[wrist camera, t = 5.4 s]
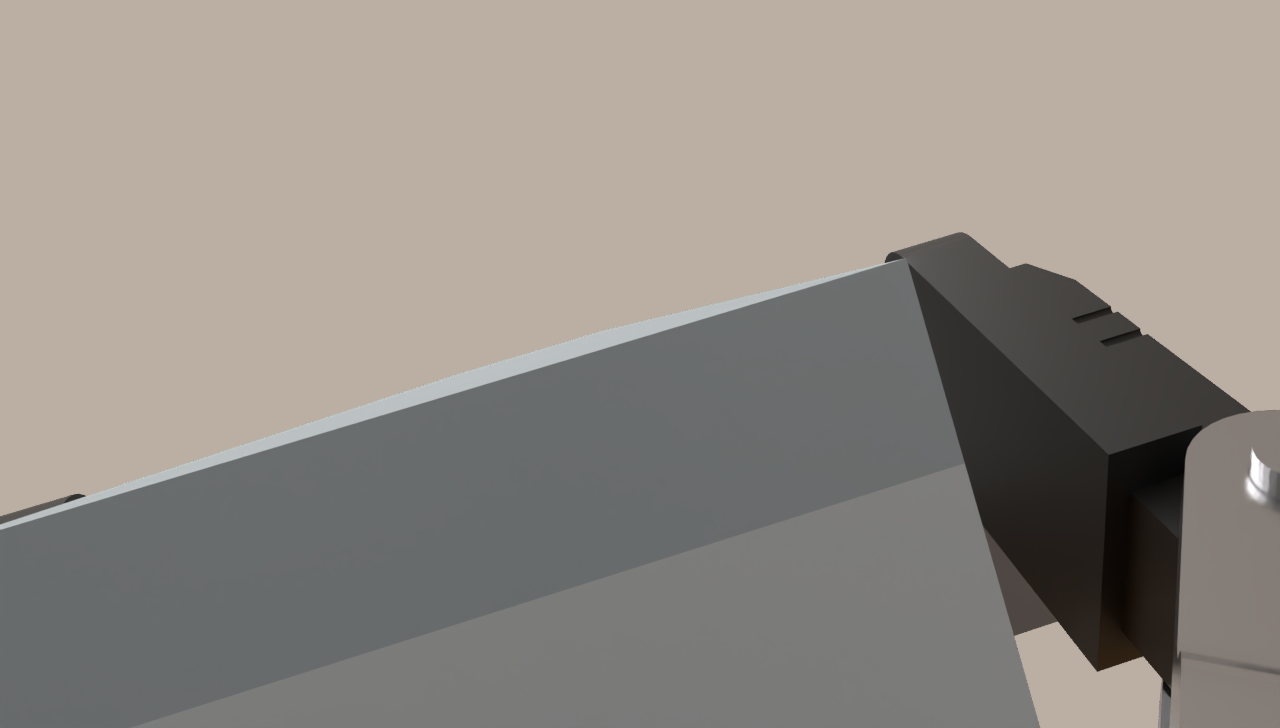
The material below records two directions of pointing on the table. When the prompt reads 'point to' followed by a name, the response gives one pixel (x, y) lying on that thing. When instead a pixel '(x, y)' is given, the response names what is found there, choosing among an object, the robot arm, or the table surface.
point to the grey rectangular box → (552, 548)
